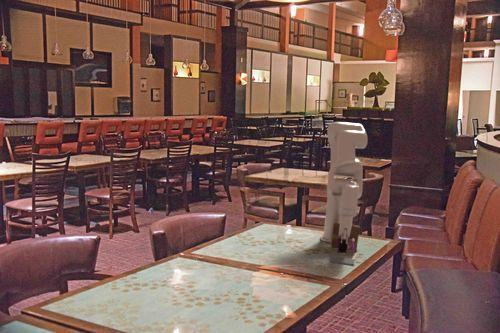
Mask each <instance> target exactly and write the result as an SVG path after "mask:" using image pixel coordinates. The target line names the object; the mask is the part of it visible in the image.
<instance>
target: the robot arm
mask: <svg viewBox="0 0 500 333" xmlns="http://www.w3.org/2000/svg"><path fill="white" fill-rule="evenodd" d="M327 140H328V144H329V148H330V168H329V171H328V175H327V184H326V194H327V195H326V196H327V197H326V208H325V209H326V211H325V217H324V227H323V234H322V235H320V237H319V239H320V240H321V241H323V242H325V243H332V234H333V225H334V223H340V227H339V237H340V236H342V238H341V243H340V250H339V251H340V252H348V250H347V242H348V241H347V240H348V238H349V236H350V232H351V227H352V225H353V220H354V219H353V218H354V217H356V216H357V209H358V203H359V202H358V201H359V199H360V198H361V197H362V194H363V176H364V175H363V173H364V172H363V171H364V170H363V162H362V161H361V160H360V159H358V158H356V149H361V150H363V149H365V148H367V146H368V134H367V132H366V129H365V128H364V125H362V123H355V122H346V121H333V122H331V123H329V124H328V125H327ZM339 177H343V178H339ZM349 178H350V179H349Z"/></svg>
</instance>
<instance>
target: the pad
mask: <svg viewBox="0 0 500 333" xmlns="http://www.w3.org/2000/svg"><path fill="white" fill-rule="evenodd" d="M330 263H332V264H340V265H345V266H346V265H347V266H352V267H353V266H355V259H354V258H350V257H343V256H342V257H341V256H334V255H331V257H330Z"/></svg>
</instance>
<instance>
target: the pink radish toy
mask: <svg viewBox="0 0 500 333" xmlns="http://www.w3.org/2000/svg"><path fill="white" fill-rule="evenodd" d="M351 239H352V244H353V250H352V251H348V249H349V248H350V246H352V245H350V244H351V243H349V242H347V252H340V251H339V250H340V243H341V238H337V249H336V250H337V254H355V253H356V251H355V238H348V240H347V241H351Z"/></svg>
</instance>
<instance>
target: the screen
mask: <svg viewBox="0 0 500 333" xmlns="http://www.w3.org/2000/svg"><path fill="white" fill-rule="evenodd" d="M339 227H340V223H334V225H333V234H332V243H331V244H330V249H333V250H334V249H335V250H337V238H342V236H340V237H339ZM359 231H360V225H355V224H352V227H351V232H350V236H349V238H355V253H356V252H357V249H358V243H359V242H358V241H359V233H360V232H359ZM348 242H349V243H351V244H350V245H352V246H350V248H349V249H348V250H347V252H352V250H353V244H352V239H351V241H348Z"/></svg>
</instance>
